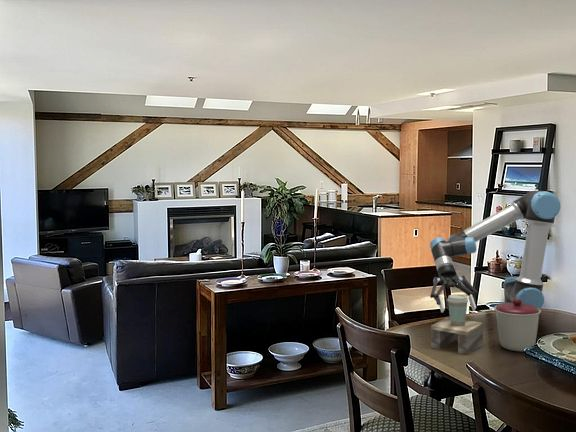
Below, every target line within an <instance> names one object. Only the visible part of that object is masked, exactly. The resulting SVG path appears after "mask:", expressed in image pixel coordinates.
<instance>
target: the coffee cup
mask: <svg viewBox="0 0 576 432" xmlns="http://www.w3.org/2000/svg"><path fill="white" fill-rule="evenodd" d="M446 301H447V302H448V303H447V305H448V311H449V313H448V314H449V318H450V322H451V324H452V325H455V326H463V325H465V320H467V319H466V317H467V312H468V311H467V309H468V303H469V298H468V295H465V294H450V295H448V298H447V300H446Z"/></svg>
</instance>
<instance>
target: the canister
mask: <svg viewBox="0 0 576 432" xmlns="http://www.w3.org/2000/svg"><path fill="white" fill-rule="evenodd" d="M493 309H494V312H495V317H496V324H497V326H496V327H497V334H498V340H499V343H500V345H501V347H502V348H504V349H506V350H509V351H512V352H513V351H514V352H525V351H524V349H525V348H527V347H531V346H534V345H535V346H536V341H537V340H536V339H537V335H538V327H539V319H540V314H541V313H542V310H541V308H540V309H539V308H537V307H536V306H533V305H531V304H526V303H522V300H521V299H519V298H515V299H513V302H508V303H504V302H502V303H499V304H497V305H495V306H494V307H493ZM535 346H534V347H535Z"/></svg>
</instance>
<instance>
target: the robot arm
mask: <svg viewBox="0 0 576 432" xmlns="http://www.w3.org/2000/svg"><path fill="white" fill-rule="evenodd" d="M560 211H561V201H560V199H559V197H558V196H557V195H555V194H554V193H552V192H550V191H547V190H546V191H543V190H531V191H529V192H527V193H526V194H523V195H521V196H520V197H519V198H517V199H515V200H513V201H511V204H510V205H509V206H507V207H505V208H503V209H502V210H499V211H496V213H494V214H492V215H490V216H488V217H487V218H484V219H483V220H481V221H479V222H477V223H475V224H473V225H471V226H469V227H468V228H465V229H463V231H460V232H459V233H455V234H451V235H450V236H449V237H448V239H447V240H446V238H444V237H439V236H438V237H435V238H433V239H432V240H430V243H429V247H430V251H431V255H432V258H433V262H434V264H435V267H436V271H437V274H438V277H437V276H434V277H433V280H432V282H433V286H432V289H431V292H430V295H429V298H430V299H434V300H435V302H436V305H437V306H438V307H439V309H440V313H444V311H445V310H446V309H445V305H444V302H443V299H442V296H441V293H442V292H443V290H444V289H445V288H447V289H448V288H456V289H459V290H460V291H461V292H462V293H464V295H465V294H466V296H467V297H468V302H469V304H470V307H471V310H472V312H475V311H476V309H477V306H476V302H477V300H476V296H477V294H478V290H477V289H476V288H475V287H474V286H473V284H471V283H470V282H469V281H468V280H467V279H466V276H465V275H461V276H458V274H457V270H456V268H455V264H454V262H453V259H452V258H455V257H460V256H466V255H471V254H475V253H476V252H477V244H476V243H477V242H479V241H481V240H483V239H484V238H487V237H488V236H490V235H492V234H494V233H496V232H498V231H500V230H501V229H504V228H505V227H507V226H509V225H511V224H513V223H515V222H517V221H518V220H521V221H522V220H525V221H526V223H528V225H527V229H526V231H527V232H526V237H525V243H524V249H523V255H522V261H521V266H520V272H519V276H511V277H510V276H508V277H505V278H504V283H503V285H504V286H503V287H504V302H503V303H508V302H513V299H515V298H519V299H521V300H522V303H526V304H531V305H533V306H536V307H537V308H539V309H540V310H541V309H542V307H543V306H544V304H545V296H544V293H543V289H544V283H543V281H542V280H541V278H542V273H543V267H544V261H545V255H546V248H547V244H548V237H549V232H550V227H551V226H552V225H554V224H555V219H556V216H558V214H559V213H560ZM439 283H440V284H442V285H441V286H440V287H439V288H438V290H437V292H436V289H437V285H438V284H439Z"/></svg>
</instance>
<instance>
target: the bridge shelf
mask: <svg viewBox="0 0 576 432" xmlns="http://www.w3.org/2000/svg"><path fill="white" fill-rule="evenodd" d="M483 325H484V323H483V322H479V321H472V320H467V319H466V320H465V325H463V326H455V325H452V324H451V322H450V317H445V318H443V319H441V320H439V321H437V322H435V323H433V324H431V325H430V345H431V346H430V348H433V349H437V350H441V349H442V348H445V347H447V346H448V345H449V344H451V343H453V342H454V341H457V352H458V354H463V355H467V356H468V355H470V354H471V353H472V352H474V351H475V350H477V349H479V348H481V346H483V344H484V343H483V342H484V341H483V340H484V339H483V338H484V336H483V334H484V332H483V329H484V327H483ZM456 335H457V336H456Z"/></svg>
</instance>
